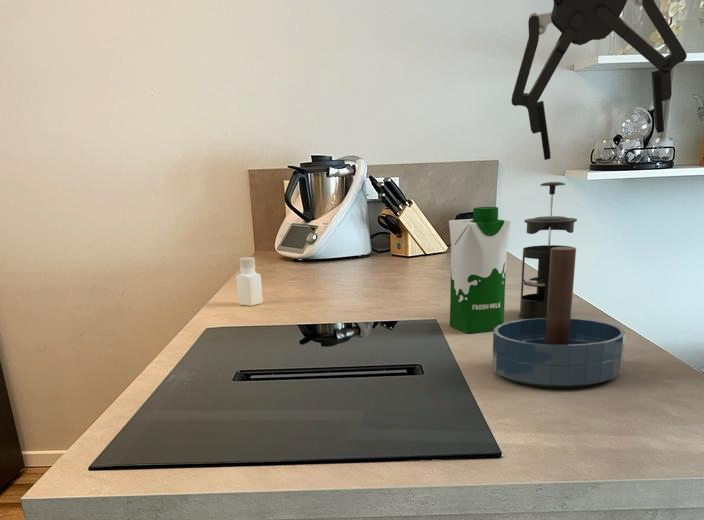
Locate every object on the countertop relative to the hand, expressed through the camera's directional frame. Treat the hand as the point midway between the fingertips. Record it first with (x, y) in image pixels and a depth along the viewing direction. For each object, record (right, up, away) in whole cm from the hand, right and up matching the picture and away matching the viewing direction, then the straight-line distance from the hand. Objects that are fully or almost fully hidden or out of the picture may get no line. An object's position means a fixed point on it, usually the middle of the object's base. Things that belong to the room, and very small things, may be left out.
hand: (602, 143), depth 100 cm
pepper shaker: (-53, -6, +66) cm, 85 cm away
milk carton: (-10, -16, +38) cm, 42 cm away
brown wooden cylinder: (-4, -27, +9) cm, 29 cm away
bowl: (-4, -28, +9) cm, 30 cm away
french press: (+4, -12, +45) cm, 47 cm away
